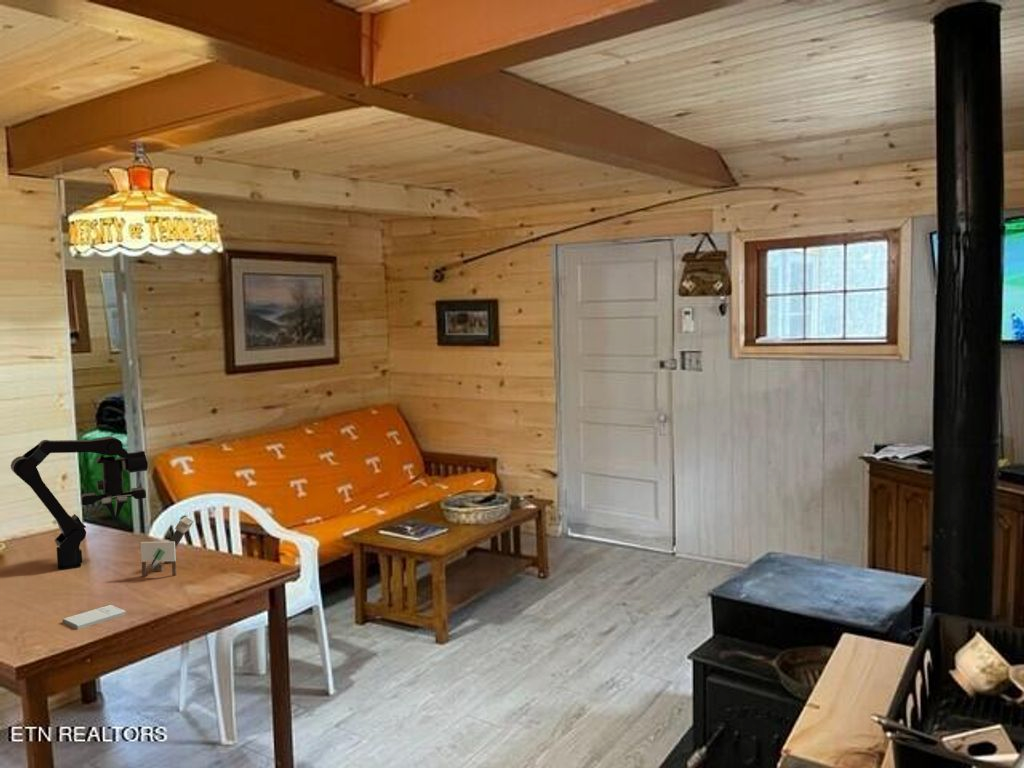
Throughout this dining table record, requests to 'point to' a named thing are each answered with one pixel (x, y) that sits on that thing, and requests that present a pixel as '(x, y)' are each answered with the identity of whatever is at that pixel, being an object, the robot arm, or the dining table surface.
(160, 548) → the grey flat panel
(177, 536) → the block-topped post frame
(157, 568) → the peg stand
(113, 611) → the external hard drive
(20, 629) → the dining table surface
